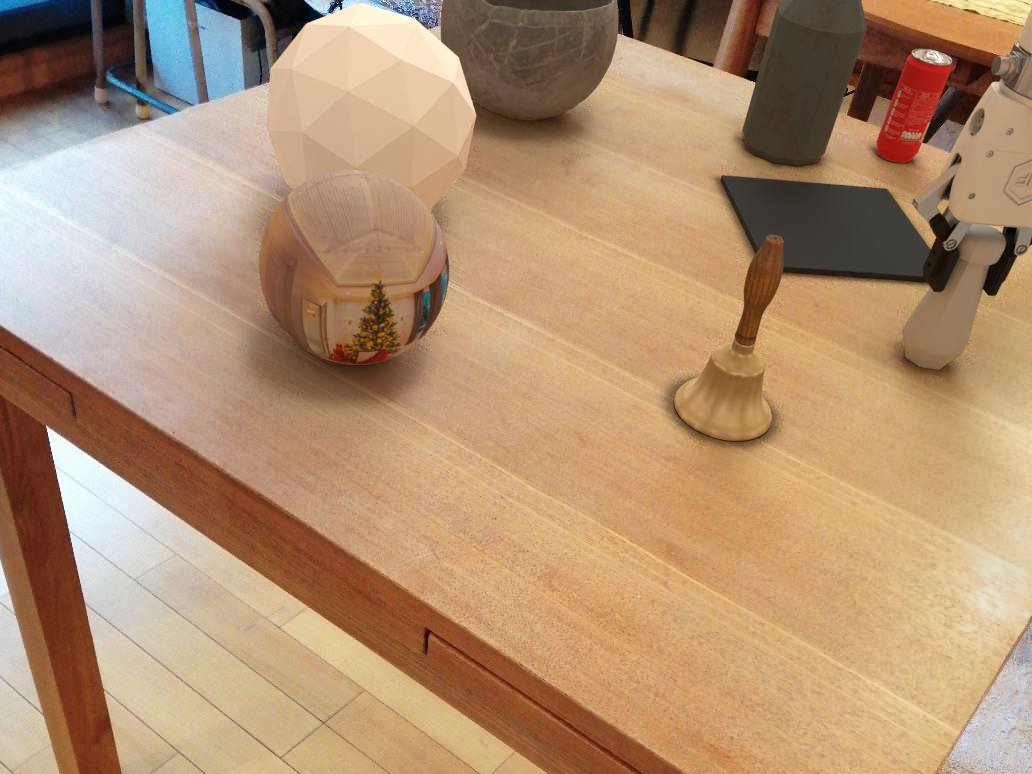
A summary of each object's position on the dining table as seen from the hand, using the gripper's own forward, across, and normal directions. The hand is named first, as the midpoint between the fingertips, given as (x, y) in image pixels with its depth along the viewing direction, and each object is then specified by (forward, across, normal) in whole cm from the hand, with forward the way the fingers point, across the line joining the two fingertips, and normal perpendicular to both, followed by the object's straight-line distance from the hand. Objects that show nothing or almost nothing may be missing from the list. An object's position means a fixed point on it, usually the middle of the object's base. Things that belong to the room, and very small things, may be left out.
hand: (959, 284), depth 96 cm
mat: (+8, -2, +24) cm, 25 cm away
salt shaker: (+8, 0, 0) cm, 8 cm away
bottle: (+8, -2, +44) cm, 45 cm away
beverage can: (+8, +13, +45) cm, 48 cm away
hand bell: (+8, -22, -10) cm, 25 cm away
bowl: (+8, -34, +49) cm, 60 cm away
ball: (+8, -52, +20) cm, 56 cm away
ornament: (+8, -53, -4) cm, 54 cm away
